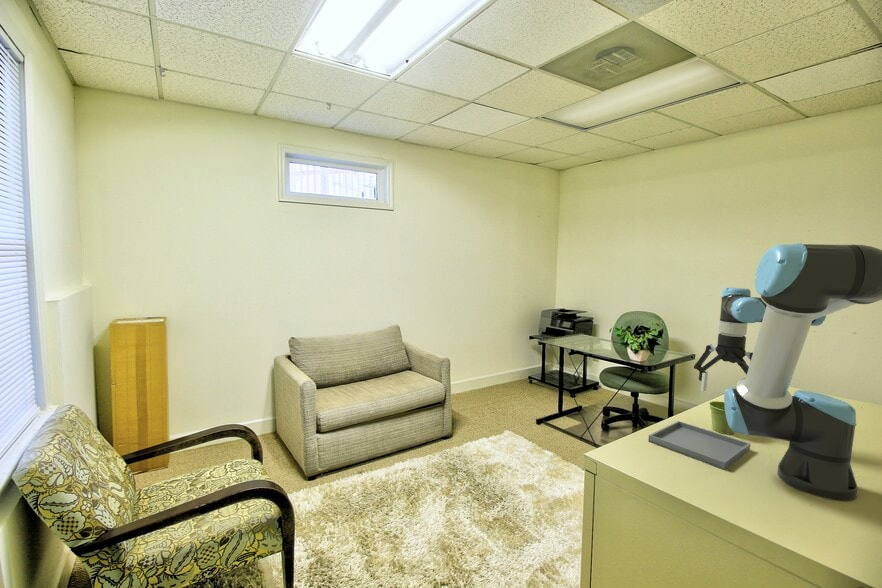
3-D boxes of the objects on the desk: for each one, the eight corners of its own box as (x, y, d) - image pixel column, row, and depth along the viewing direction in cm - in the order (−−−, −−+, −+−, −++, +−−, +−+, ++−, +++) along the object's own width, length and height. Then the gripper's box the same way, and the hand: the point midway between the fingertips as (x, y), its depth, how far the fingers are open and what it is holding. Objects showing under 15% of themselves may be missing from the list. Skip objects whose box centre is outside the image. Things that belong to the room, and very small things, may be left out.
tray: (677, 426, 139) (678, 420, 139) (750, 450, 123) (750, 443, 123) (648, 441, 127) (648, 435, 127) (724, 470, 111) (724, 462, 111)
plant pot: (740, 439, 131) (742, 413, 130) (705, 431, 136) (707, 406, 135) (740, 430, 138) (743, 405, 137) (707, 423, 144) (709, 399, 143)
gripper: (783, 340, 127) (776, 405, 129) (695, 327, 146) (690, 384, 149) (775, 342, 122) (768, 410, 124) (686, 329, 142) (681, 387, 144)
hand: (726, 396), depth 136 cm, fingers open, 13 cm apart
